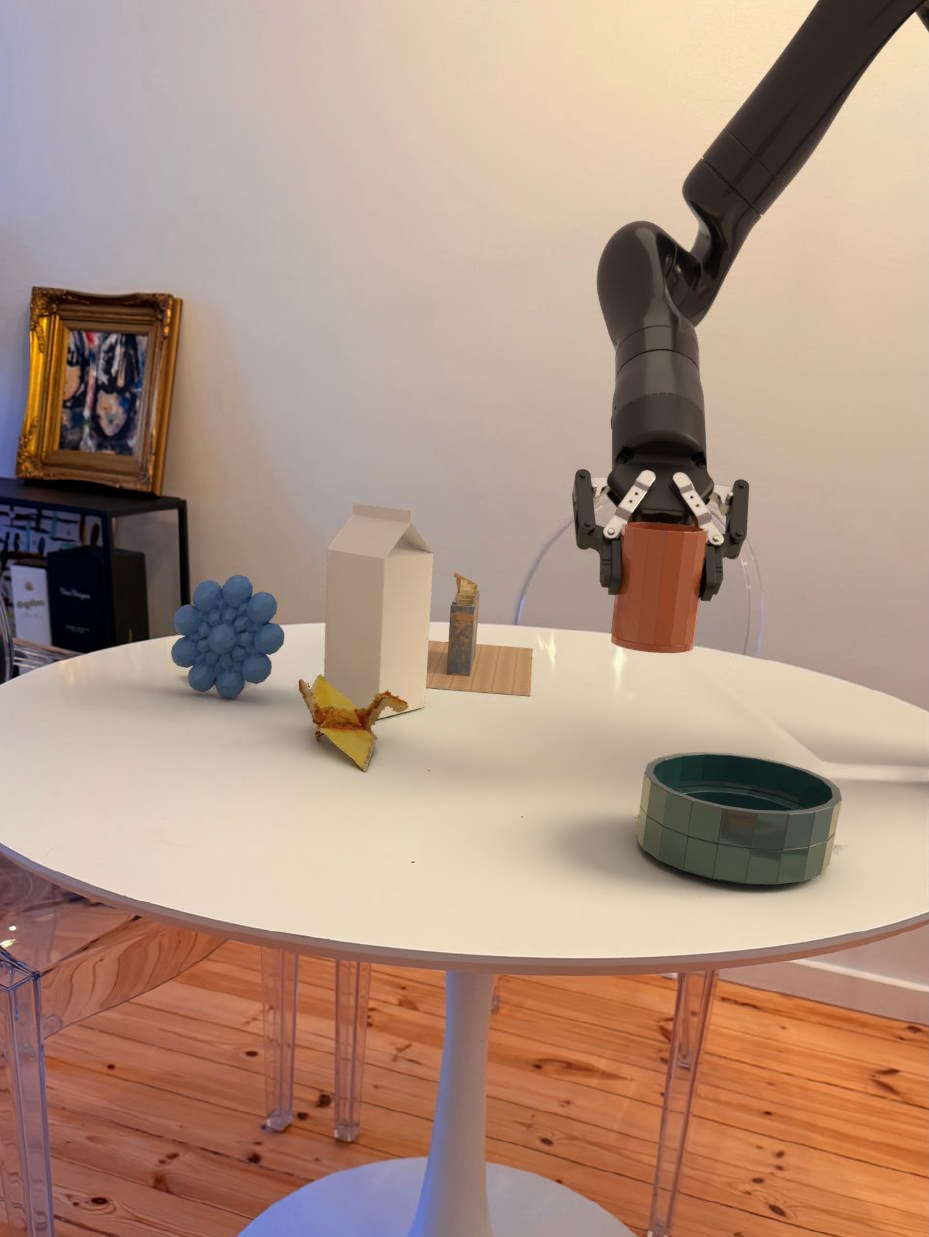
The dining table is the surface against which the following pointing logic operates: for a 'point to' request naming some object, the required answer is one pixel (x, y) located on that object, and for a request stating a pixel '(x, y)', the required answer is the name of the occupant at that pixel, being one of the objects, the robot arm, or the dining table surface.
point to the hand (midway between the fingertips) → (661, 591)
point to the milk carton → (378, 608)
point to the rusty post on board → (475, 654)
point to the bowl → (738, 817)
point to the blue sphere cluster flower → (227, 636)
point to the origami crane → (346, 718)
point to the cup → (659, 587)
